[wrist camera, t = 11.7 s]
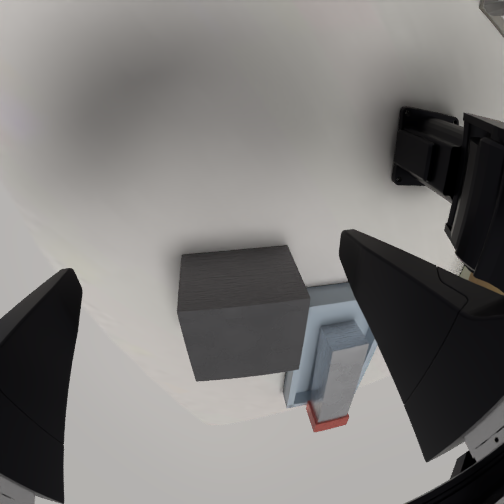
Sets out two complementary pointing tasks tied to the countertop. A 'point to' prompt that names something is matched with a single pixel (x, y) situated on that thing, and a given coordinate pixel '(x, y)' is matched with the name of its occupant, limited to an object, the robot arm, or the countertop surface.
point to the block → (242, 312)
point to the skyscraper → (494, 12)
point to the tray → (320, 313)
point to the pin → (336, 374)
